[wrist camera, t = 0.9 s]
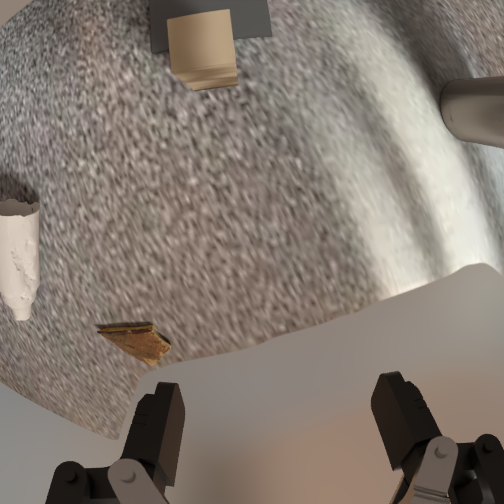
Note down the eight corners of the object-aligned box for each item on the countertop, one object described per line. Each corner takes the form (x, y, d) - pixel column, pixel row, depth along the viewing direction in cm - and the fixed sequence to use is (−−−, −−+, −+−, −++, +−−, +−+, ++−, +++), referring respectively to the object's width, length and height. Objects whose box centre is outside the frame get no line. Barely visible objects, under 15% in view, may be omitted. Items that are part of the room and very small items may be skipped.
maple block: (233, 46, 29) (229, 9, 17) (238, 85, 30) (235, 62, 19) (191, 53, 29) (167, 19, 18) (195, 91, 31) (171, 72, 19)
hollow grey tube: (17, 294, 41) (-7, 318, 33) (14, 192, 34) (-20, 206, 26) (50, 309, 42) (27, 336, 34) (50, 203, 35) (17, 220, 27)
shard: (99, 326, 43) (95, 333, 42) (118, 297, 41) (114, 303, 40) (153, 362, 46) (151, 369, 45) (176, 336, 44) (175, 344, 42)
